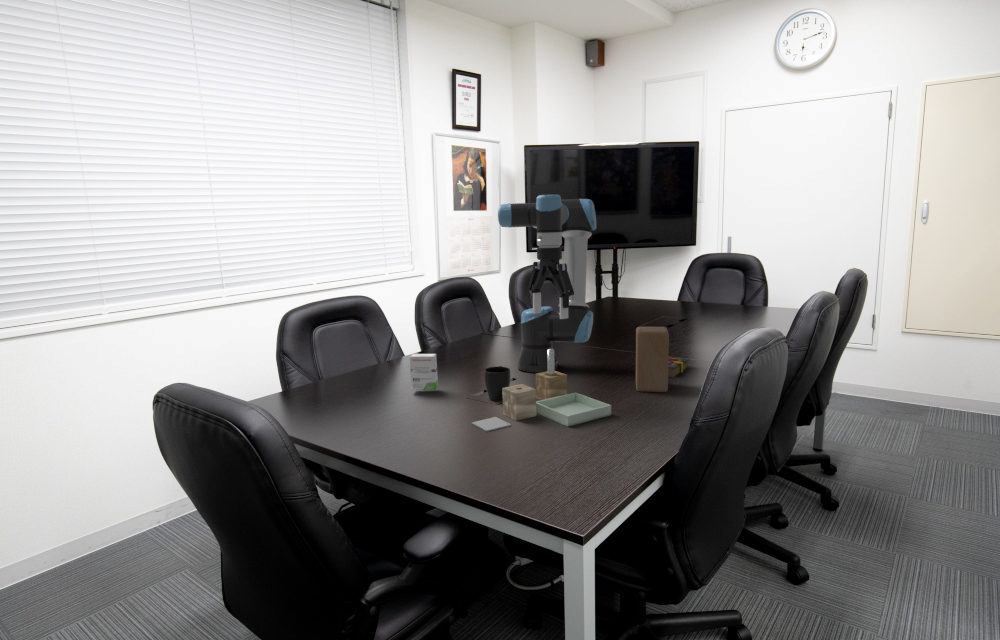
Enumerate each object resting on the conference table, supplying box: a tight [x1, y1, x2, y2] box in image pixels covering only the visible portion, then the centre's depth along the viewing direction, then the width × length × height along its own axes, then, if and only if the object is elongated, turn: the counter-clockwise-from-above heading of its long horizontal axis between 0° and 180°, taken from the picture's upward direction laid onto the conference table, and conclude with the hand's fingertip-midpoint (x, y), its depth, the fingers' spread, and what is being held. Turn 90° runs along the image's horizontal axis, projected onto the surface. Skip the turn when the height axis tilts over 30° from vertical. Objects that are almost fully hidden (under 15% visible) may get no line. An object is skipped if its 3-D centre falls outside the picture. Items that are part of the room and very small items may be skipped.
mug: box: [483, 365, 511, 402], centre depth 192 cm, size 8×12×10 cm
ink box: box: [409, 353, 439, 391], centre depth 204 cm, size 9×5×12 cm, turn 85°
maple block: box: [502, 383, 537, 422], centre depth 173 cm, size 7×7×8 cm
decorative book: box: [668, 356, 690, 378], centre depth 216 cm, size 11×16×5 cm
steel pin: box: [547, 348, 556, 376], centre depth 187 cm, size 2×2×16 cm
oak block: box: [535, 370, 568, 401], centre depth 188 cm, size 7×7×8 cm
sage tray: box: [536, 392, 612, 428], centre depth 174 cm, size 16×16×3 cm
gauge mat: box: [471, 416, 512, 433], centre depth 166 cm, size 8×8×1 cm
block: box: [635, 326, 670, 393], centre depth 195 cm, size 10×10×20 cm
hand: (550, 315), depth 184 cm, fingers open, 13 cm apart
